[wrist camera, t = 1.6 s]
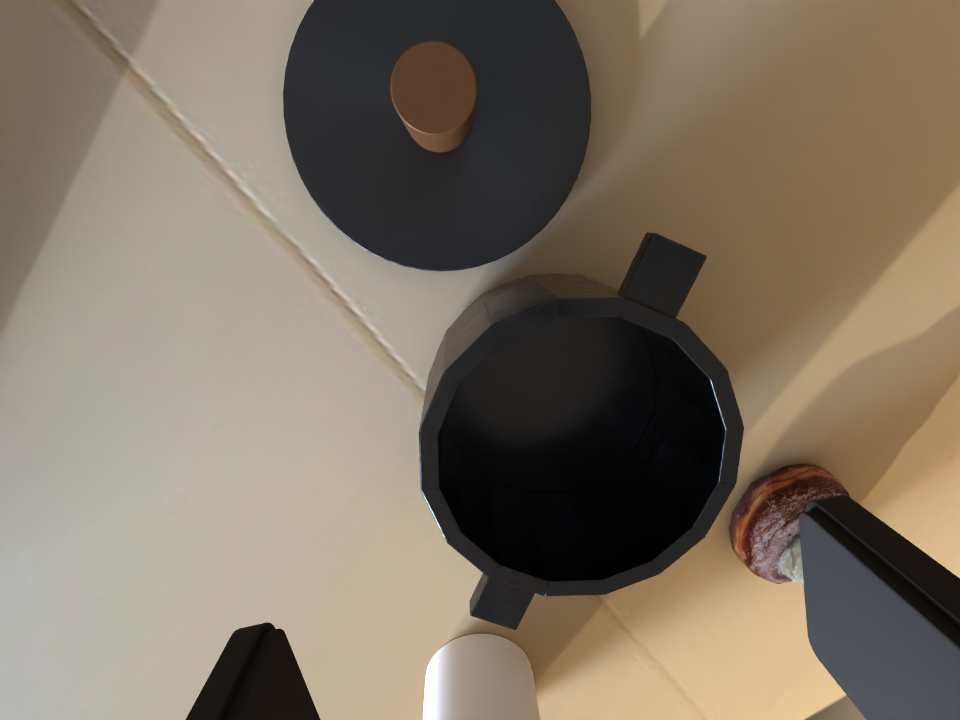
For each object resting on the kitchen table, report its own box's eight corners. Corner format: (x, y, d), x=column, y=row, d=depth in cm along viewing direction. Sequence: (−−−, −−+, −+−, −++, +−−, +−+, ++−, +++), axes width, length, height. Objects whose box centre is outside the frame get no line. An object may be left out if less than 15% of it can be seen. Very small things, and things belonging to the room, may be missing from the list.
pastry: (808, 582, 35) (865, 641, 30) (702, 558, 34) (743, 615, 29) (863, 474, 33) (932, 518, 28) (751, 446, 32) (804, 487, 27)
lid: (253, 203, 27) (184, 200, 20) (347, -111, 24) (302, -243, 17) (515, 310, 29) (533, 340, 22) (635, 34, 26) (700, -31, 19)
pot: (379, 493, 32) (352, 590, 24) (505, 184, 28) (525, 172, 19) (584, 563, 34) (624, 675, 26) (732, 284, 29) (838, 312, 21)
